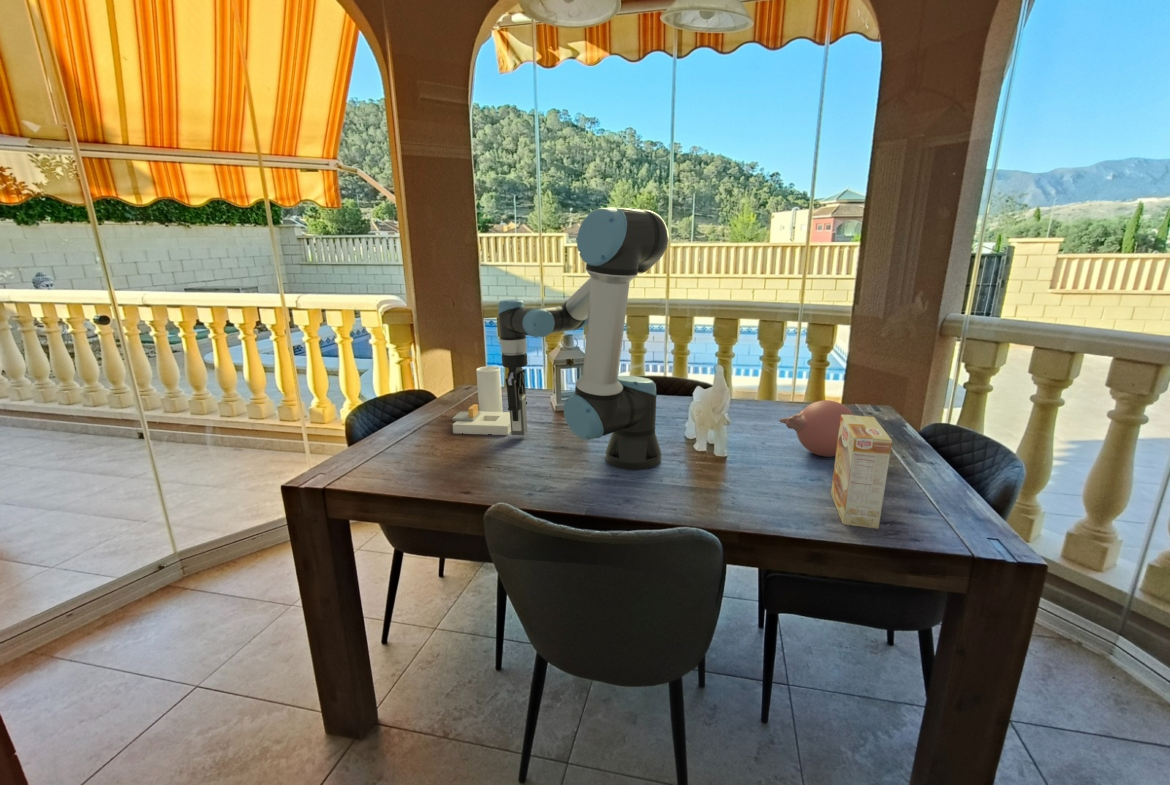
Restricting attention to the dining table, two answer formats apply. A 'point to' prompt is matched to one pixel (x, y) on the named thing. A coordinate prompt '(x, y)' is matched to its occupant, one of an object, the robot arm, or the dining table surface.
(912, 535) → the dining table surface
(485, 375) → the cup
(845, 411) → the pomegranate
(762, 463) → the dining table surface
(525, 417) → the plug
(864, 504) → the coffeecake box
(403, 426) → the dining table surface
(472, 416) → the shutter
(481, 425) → the socket plate
